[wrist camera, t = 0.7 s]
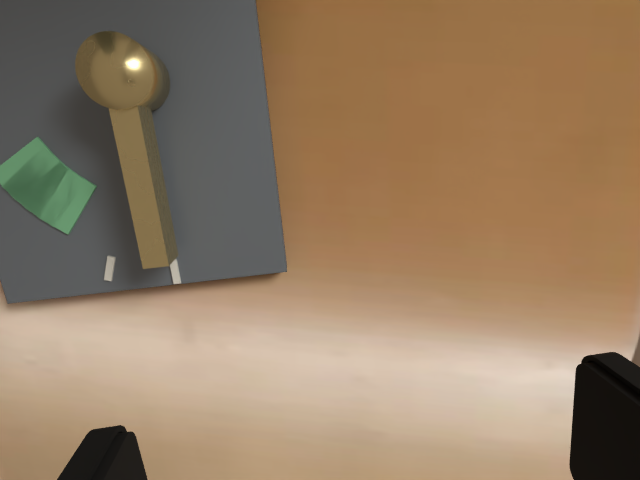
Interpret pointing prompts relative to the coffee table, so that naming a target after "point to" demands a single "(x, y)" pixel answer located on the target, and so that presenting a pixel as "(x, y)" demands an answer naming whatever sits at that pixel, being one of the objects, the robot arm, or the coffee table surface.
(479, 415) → the coffee table surface
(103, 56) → the needle
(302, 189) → the coffee table surface
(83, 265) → the dial plate
